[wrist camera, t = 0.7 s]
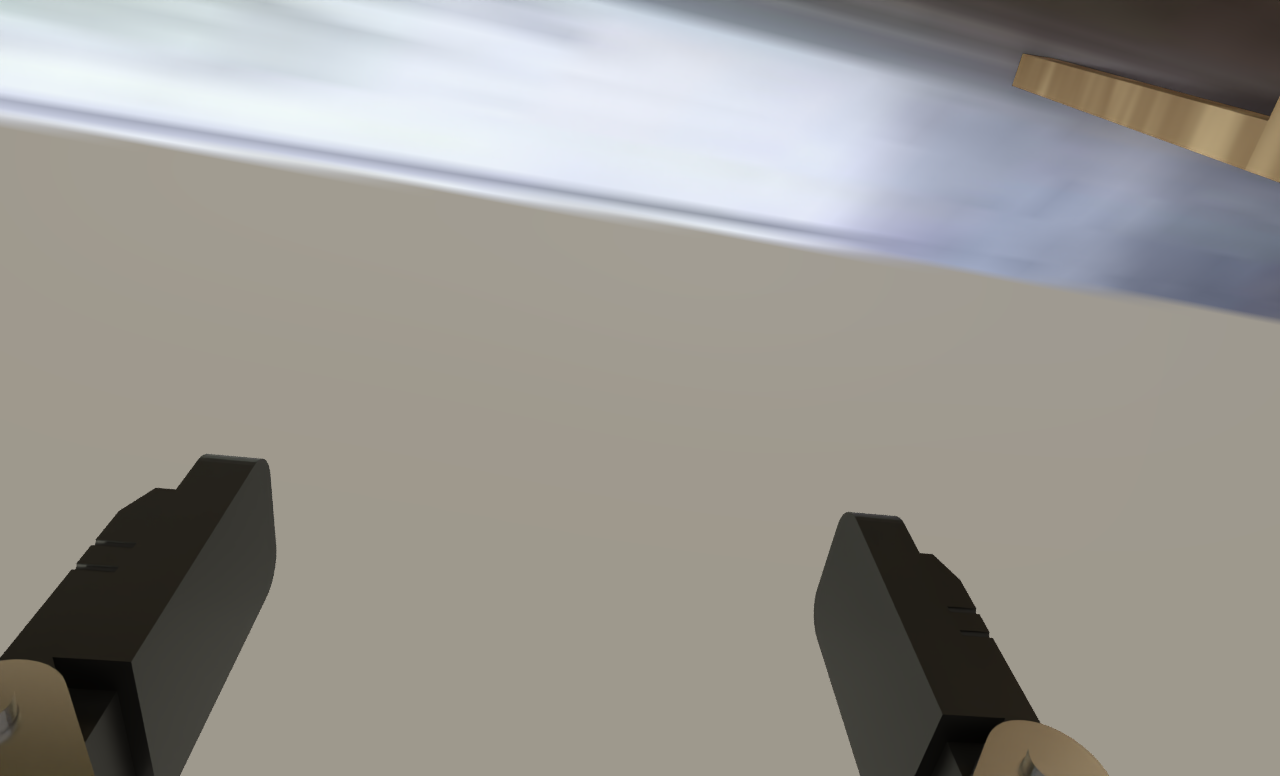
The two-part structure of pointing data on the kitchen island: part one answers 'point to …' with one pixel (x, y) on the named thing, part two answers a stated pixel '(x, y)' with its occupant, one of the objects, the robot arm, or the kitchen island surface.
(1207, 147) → the oak shelf
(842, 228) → the kitchen island surface
